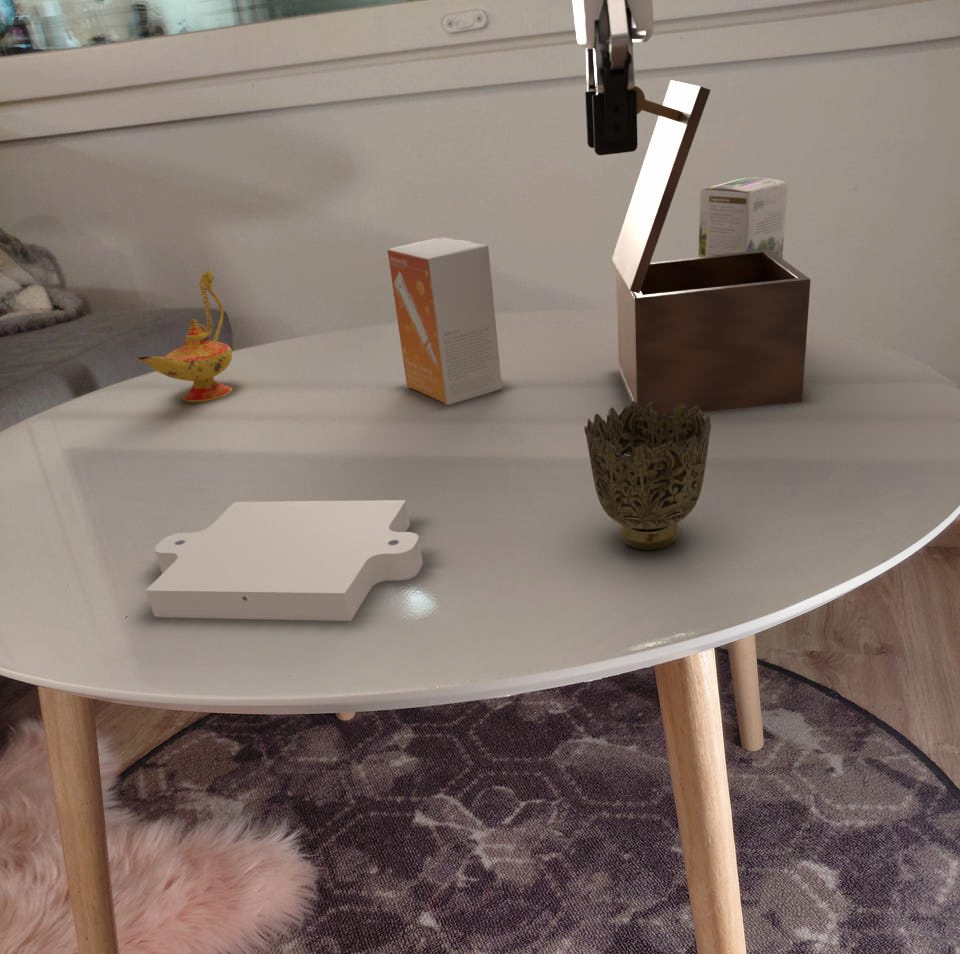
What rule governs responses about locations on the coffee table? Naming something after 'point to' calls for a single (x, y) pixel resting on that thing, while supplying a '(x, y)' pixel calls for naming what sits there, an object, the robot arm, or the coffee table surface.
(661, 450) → the cup
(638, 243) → the lid
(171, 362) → the magic lamp
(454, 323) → the small box
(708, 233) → the syrup box
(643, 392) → the compartment
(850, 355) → the coffee table surface
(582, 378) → the coffee table surface
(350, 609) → the mounting plate
